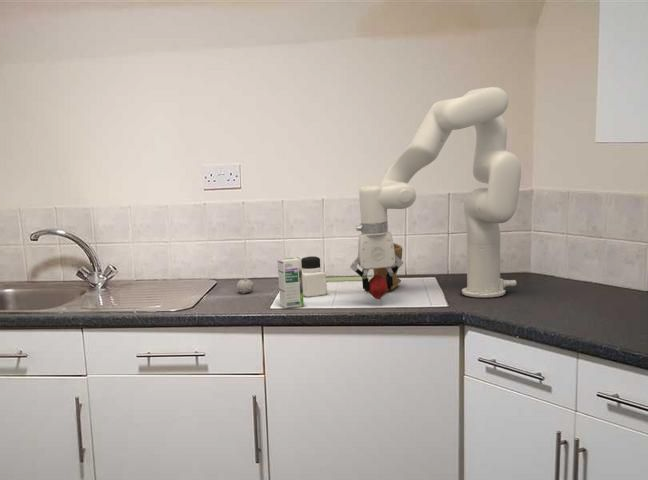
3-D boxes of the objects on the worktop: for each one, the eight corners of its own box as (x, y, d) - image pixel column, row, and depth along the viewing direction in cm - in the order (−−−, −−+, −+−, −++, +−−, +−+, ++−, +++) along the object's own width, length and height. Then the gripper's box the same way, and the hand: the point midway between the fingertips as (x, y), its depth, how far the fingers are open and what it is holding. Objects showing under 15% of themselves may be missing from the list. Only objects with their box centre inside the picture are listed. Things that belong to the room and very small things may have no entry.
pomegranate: (388, 301, 218) (386, 274, 217) (367, 302, 219) (366, 275, 218) (388, 296, 224) (387, 270, 222) (368, 297, 225) (367, 271, 223)
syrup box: (285, 308, 224) (283, 260, 221) (279, 304, 230) (277, 257, 227) (303, 306, 226) (301, 258, 223) (297, 302, 231) (295, 255, 228)
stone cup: (397, 294, 235) (396, 246, 232) (360, 292, 241) (359, 245, 238) (410, 284, 249) (409, 239, 246) (375, 283, 254) (374, 239, 251)
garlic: (252, 294, 247) (251, 278, 246) (236, 295, 248) (235, 279, 247) (254, 290, 253) (253, 275, 252) (238, 291, 254) (237, 276, 253)
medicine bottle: (327, 294, 241) (325, 257, 238) (306, 297, 238) (305, 259, 236) (317, 290, 247) (315, 254, 245) (297, 293, 245) (295, 256, 242)
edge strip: (373, 276, 266) (373, 276, 266) (373, 280, 260) (373, 279, 260) (316, 278, 269) (316, 277, 269) (315, 281, 263) (315, 280, 263)
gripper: (347, 232, 213) (350, 295, 217) (407, 227, 214) (410, 289, 218) (342, 229, 221) (346, 290, 224) (401, 224, 221) (404, 284, 225)
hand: (377, 289), depth 221 cm, fingers closed on pomegranate, 5 cm apart
